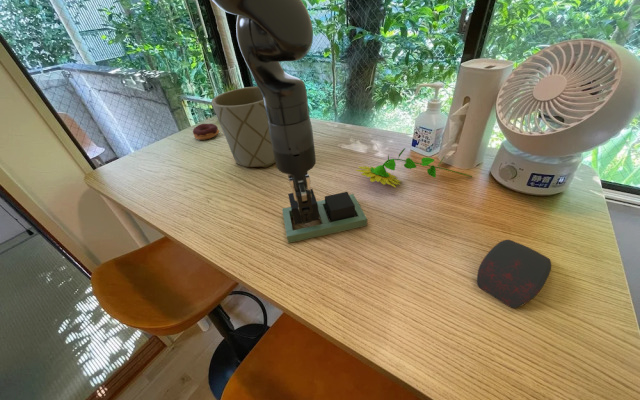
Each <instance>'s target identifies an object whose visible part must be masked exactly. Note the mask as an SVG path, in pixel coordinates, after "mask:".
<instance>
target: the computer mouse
mask: <svg viewBox="0 0 640 400" xmlns="http://www.w3.org/2000/svg"><path fill="white" fill-rule="evenodd" d="M551 269H552V261H551V259H550V258H549V257H547V256H545V255H544V254H542V253H540V252H538V251H536V250H534V249H533V248H531V247H529V246H526V245H524V244H521V243H519V242H516V241H514V240H511V239H504V240H501V241H500V242H498V243H497V244H496V245H494V247H492V249H490V250H489V251H488V252H487V253H486V254H485V256H484V258H483V259H482V261H481V262H480V264H479V267H478V271H477V276H476V284H477V286H478V288H479V289H481V290H482V291H484V292H486V293H487V294H489V295H491V296H492V297H494V298H495V299H497V300H499V301H500V302H502V303H503V304H505V305H506V306H508V307H509V308H513V309H515V308H519V307H521V306H523V305H525V304H527V303H529V302H530V301H531V300H533V299H534V298H536V296H537V295H538V294H539V293H540V292H541V291H542V289H543V287H544V286H545V284H546V282H547V280H548V278H549V275H550V274H551Z"/></svg>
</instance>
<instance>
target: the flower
mask: <svg viewBox="0 0 640 400" xmlns="http://www.w3.org/2000/svg"><path fill="white" fill-rule="evenodd" d="M405 150H406V148H405V147H404V148H403V149H402V150H401V151H400V153H399V154H398V157H397V158H390V154H388V155H387V160H385V161H384V163H383V164H379V165H378V166H375V167H374V166H366V165H362V166H360V165H359V166H358V168H359V169H355V171H356V172H360V173H361V174H360V175H361V176H365V177H366V178H369V181H370V183H373V182H380V183H381V184H382V185H386V184H387V185H390V186H392V187H393V188H397V187H396V185H398V186H399V185H400V186H401V182H402V181H401V180H399V179H398V177H397V176H395V175H394V174H392V173H391V172H388V171H387V169H389V170H391V171H395V170H396V161H403V162H405V163H404V164H403V166H404V168H406V169H408V170H411V169H416V168H417V165H421V166H422V167H429V168H427V170H426V173H427V174H428V175H429V176H430V177H432V178H436V177H437V170H436V169H439V170H445V171H448V172H452V173H456V174H460V175H464V176H466V177H470V178H472V177H473V175H470V174H466V173H463V172H459V171H455V170H452V169H449V168H445V167H440V166H435V165H430V164H432V163H434V162H435V159H434V158H431V157H429V156H428V157H422V158H421V162H415V161H414V160H413V159H412V158H410V157H407V158H406V159H401V158H400V157H401V155H402V154H403V153H404V152H405ZM444 158H445V156H443V157H442V158H441V160H440V161H439V162H438V165H440V164H441V163H442V162H443V160H444Z"/></svg>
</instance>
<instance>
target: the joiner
mask: <svg viewBox="0 0 640 400" xmlns="http://www.w3.org/2000/svg"><path fill="white" fill-rule="evenodd" d="M349 196H350V198H351V200H352V201H353V203H354V205H355V217H352V218H347V219H343V220H338V221H334V222H330V220H329V217H328V215H327V212H326V206H325V199H321V200H316V201H317V204H318V212H319V222H320V224H315V225H312V226H306V227H301V228H298V229H293V223H292V218H293V215H292V210H291V206H288V207H284V208H283V207H282V208H281V210H282V216H283V223H284V230H285V235H286V241H287V243H288V244H291V243H294V242H295V243H296V242H300V241H304V240H308V239H309V240H310V239H313V238H318V237H322V236H327V235H331V234H337V233H340V232H343V231H349V230H353V229H358V228H363V227H367V226H368V218H367V216H366V214H365V212H364V210H363V209H362V207H361V205H360V204H359V202H358V200H357V198H356V196H355V194H354V193H351V194H349Z"/></svg>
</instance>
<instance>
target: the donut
mask: <svg viewBox="0 0 640 400" xmlns="http://www.w3.org/2000/svg"><path fill="white" fill-rule="evenodd" d="M219 133H220V130H219V129H218V126H217V125H216V124H214V123H201V124H198V125H196V126H195V127H194V128H193V129H192V134H193V137H194V138H195V139H196V140H198V141H204V140H210V139H213V138H215V137H216V136H218V134H219Z"/></svg>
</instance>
